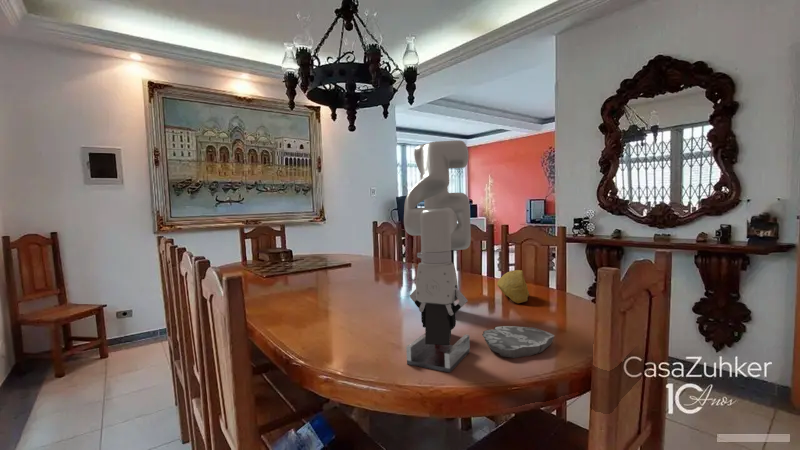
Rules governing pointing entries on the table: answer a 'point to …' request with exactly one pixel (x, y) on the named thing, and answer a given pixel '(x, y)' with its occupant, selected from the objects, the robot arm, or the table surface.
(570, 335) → the table surface
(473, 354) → the table surface
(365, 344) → the table surface
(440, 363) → the guide cradle
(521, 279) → the decorative stone
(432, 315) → the phone stand
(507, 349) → the brain slice
